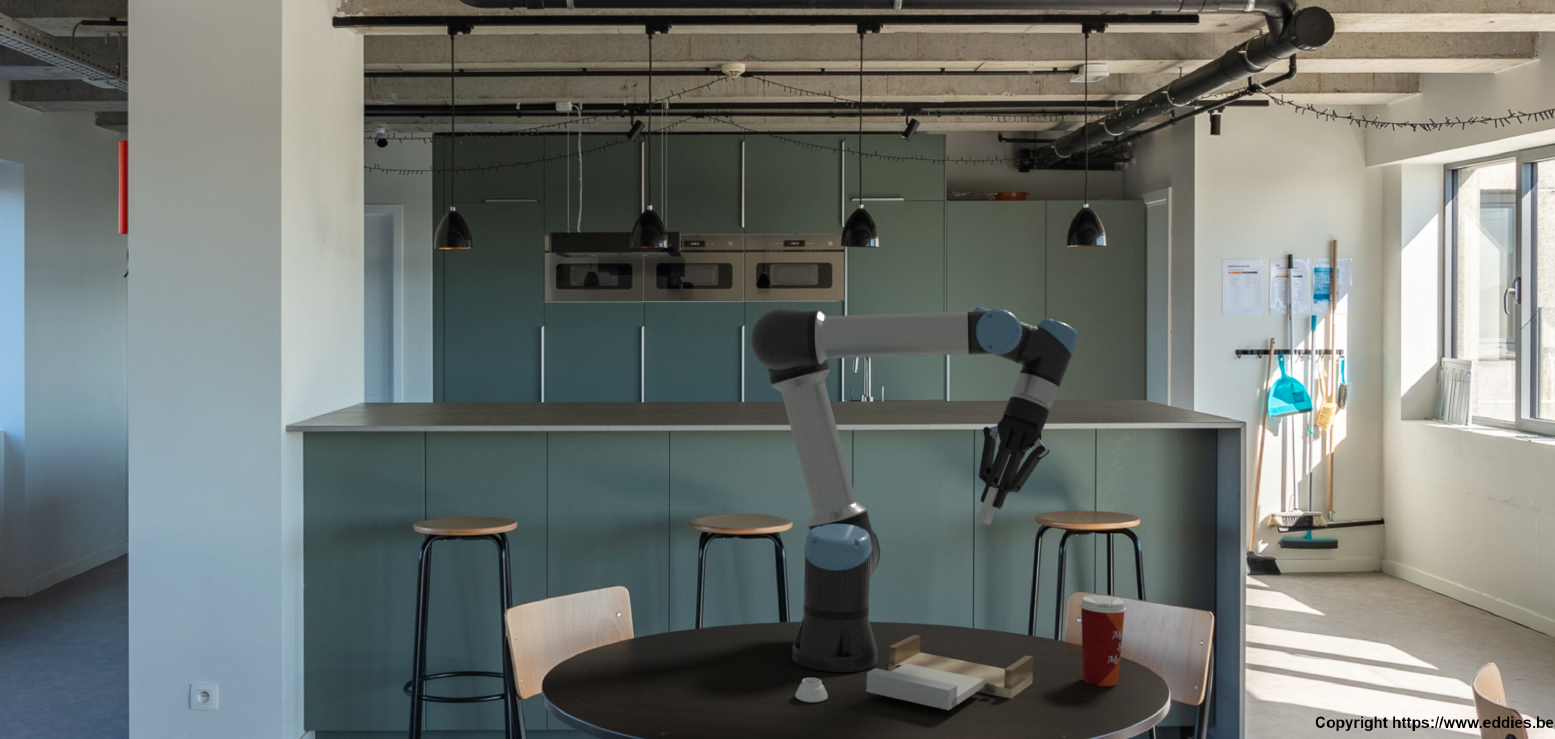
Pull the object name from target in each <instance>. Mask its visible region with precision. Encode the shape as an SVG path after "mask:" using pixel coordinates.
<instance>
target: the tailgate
mask: <svg viewBox="0 0 1555 739" xmlns="http://www.w3.org/2000/svg"><path fill="white" fill-rule="evenodd" d="M983 687H984V679H980V678H975V677H970V676H965V675H961V674H956V673H951V672H946V671H941V670H936V669H931V668H926V667H921V666H916V665H912V664H907V663H906V664H904V665H902V666H900V667H898V668H896V669H894V670H893V671H889V670H886V669H881V668H876V667H875V668H873V669H872V670H869V671H867V672H866V692H867V693H871V694H875V695H879V696H884V697H888V698H891V699H892V698H893V699H897V700H901V701H907V702H910V703H916V704H920V705H924V706H929V707H932V708H937V709H942V710H946V711H949V710H951V709H952V708H953V709H954V707H956V706H957V705H959V704H960V703H962V702H964V701H965V700H967V699H968V698H970V697H972V695H974V694H976V693H977V691H979V690H980V689H982V688H983Z"/></svg>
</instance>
